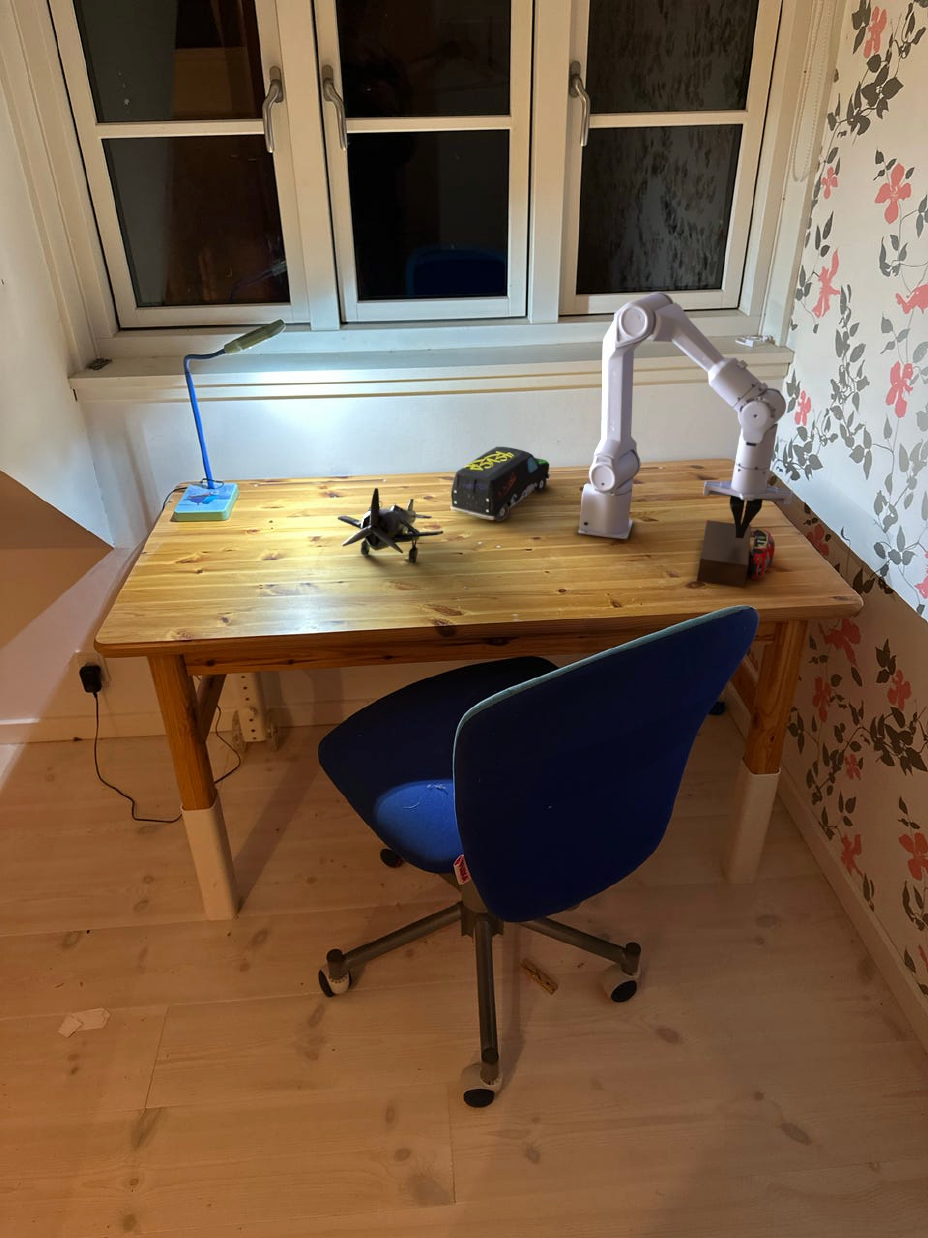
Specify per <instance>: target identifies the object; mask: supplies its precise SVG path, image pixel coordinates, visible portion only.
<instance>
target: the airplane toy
mask: <svg viewBox="0 0 928 1238" xmlns="http://www.w3.org/2000/svg"><path fill="white" fill-rule="evenodd" d="M414 500H415V499H414V498H412V497H410V499H409V502H408V505H407V508H406V509H404V508H403V507H401V506H398V505H397V504H398V503H397V502H395V503H394V504H392V505H391V506H390V507H389V508H382V507H383V505H384V504H383V502H382V501H381V500H380V493H379V488H377V487H375V488H374V490H373V493H372V497H371V503H370V507H368V508H367V510H366V513H364V514H363V517H362V518H361V519H362V520H359V519H356V518H355V517H351V516H348V515H339V516H337V520H338V521H341V522H343V523H345V524H348V525H351V526H352V527H355V528H357V529H360V530H359V531H357V532H355V533H354V534H353V535H352V536H350V537H349V538H348V539H347V540H345V541H344V542H343V543H342V544H341V546H342V547H347V546H349V545H352V544H354V543H357V542H359V541H361V540H362V542H361V543H360V554H361V556H364V557H366V556H368V555H369V553H370V550H371V549H372V550H374V551H375V552H376V551H381V550H383V549H387V548H389V547H391V548H392V549H394V550H396V551H397V552H399V553H400V554H404V550H402V549H401V547H400V546H399V545H398V544H402V543H409V542H411V548H410V549H409V550H408V563H409V564H411V565H413V564H416V563H417V559H418V556H419V555H418V554H419V547H417V541H418V540H419V539H420V537H432V536H439V535H443V534H444V530H432V531H419V529H418V528H415V527H413V525H414V524H415V521H416V519H432V518H433V516H430V515H425V514H418V513H417V512H416V511H415V510H414ZM380 504H381V505H380Z"/></svg>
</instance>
